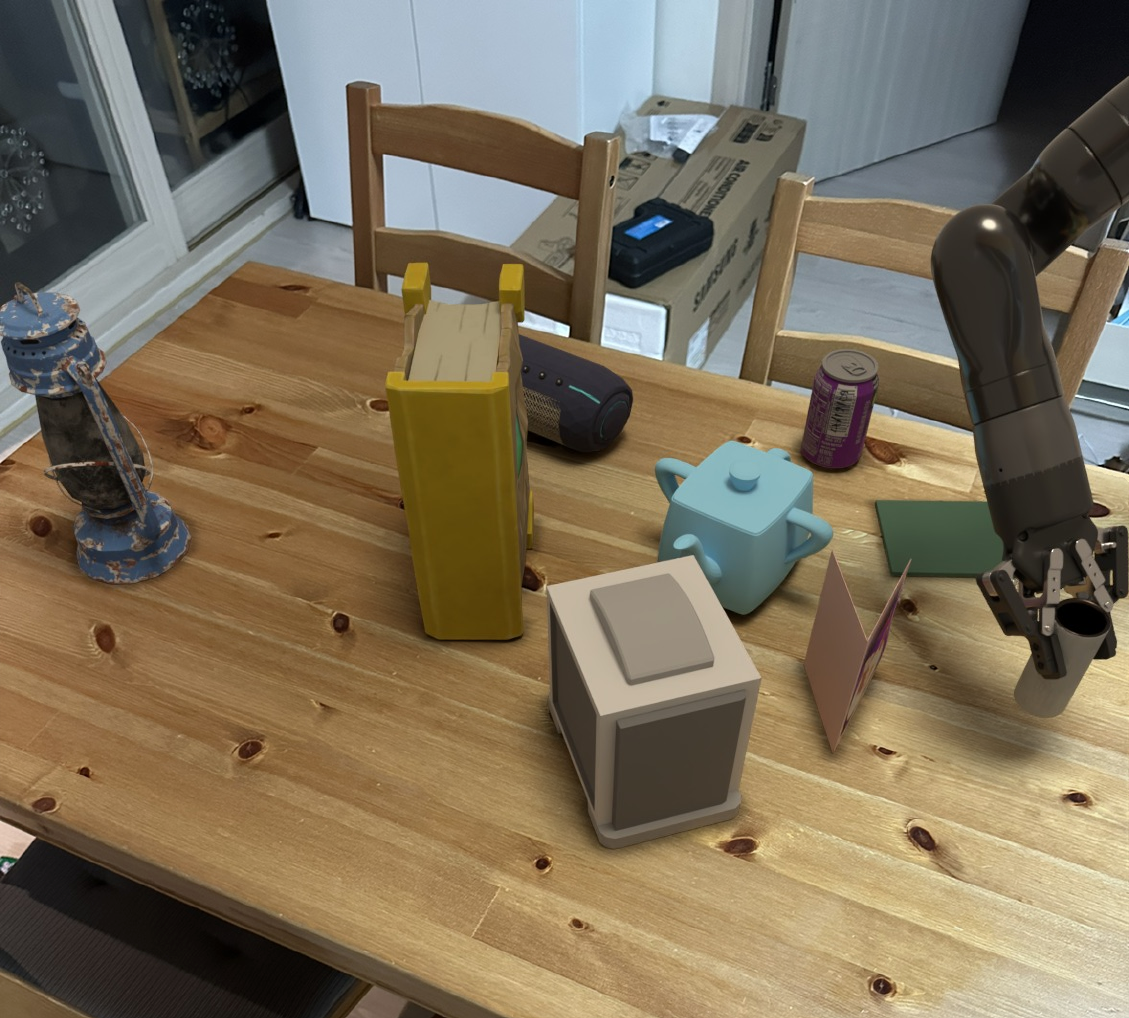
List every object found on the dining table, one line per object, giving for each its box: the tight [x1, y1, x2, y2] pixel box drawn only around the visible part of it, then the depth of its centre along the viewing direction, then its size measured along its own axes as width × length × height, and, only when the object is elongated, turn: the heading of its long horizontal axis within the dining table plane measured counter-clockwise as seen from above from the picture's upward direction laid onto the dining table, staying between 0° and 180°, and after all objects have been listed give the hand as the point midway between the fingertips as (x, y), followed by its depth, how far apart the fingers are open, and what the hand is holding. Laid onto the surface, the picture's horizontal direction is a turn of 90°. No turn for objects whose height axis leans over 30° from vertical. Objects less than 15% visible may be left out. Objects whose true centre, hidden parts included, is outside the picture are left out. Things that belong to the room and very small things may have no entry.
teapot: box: [654, 440, 834, 616], centre depth 108 cm, size 18×16×14 cm
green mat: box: [874, 499, 1017, 579], centre depth 117 cm, size 14×12×1 cm
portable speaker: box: [519, 333, 634, 453], centre depth 127 cm, size 25×10×10 cm, turn 55°
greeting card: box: [803, 548, 911, 754], centre depth 97 cm, size 11×7×15 cm, turn 151°
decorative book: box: [384, 262, 535, 640], centre depth 102 cm, size 20×11×30 cm, turn 177°
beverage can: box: [800, 348, 880, 469], centre depth 122 cm, size 7×7×12 cm
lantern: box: [0, 282, 193, 585], centre depth 106 cm, size 15×12×30 cm
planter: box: [1013, 597, 1111, 719], centre depth 90 cm, size 4×4×10 cm
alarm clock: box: [546, 555, 762, 850], centre depth 92 cm, size 18×13×18 cm
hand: (1079, 667), depth 88 cm, fingers closed on planter, 4 cm apart
